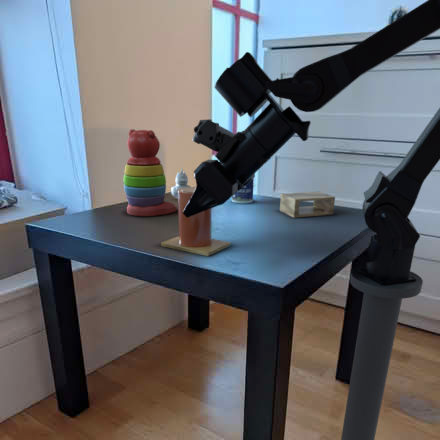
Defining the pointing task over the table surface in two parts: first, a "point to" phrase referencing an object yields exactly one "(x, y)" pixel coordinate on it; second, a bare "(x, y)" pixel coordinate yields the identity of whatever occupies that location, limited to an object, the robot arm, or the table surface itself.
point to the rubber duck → (180, 183)
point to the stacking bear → (145, 176)
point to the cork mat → (204, 250)
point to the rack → (320, 206)
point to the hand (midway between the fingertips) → (193, 209)
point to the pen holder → (193, 222)
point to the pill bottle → (244, 194)
